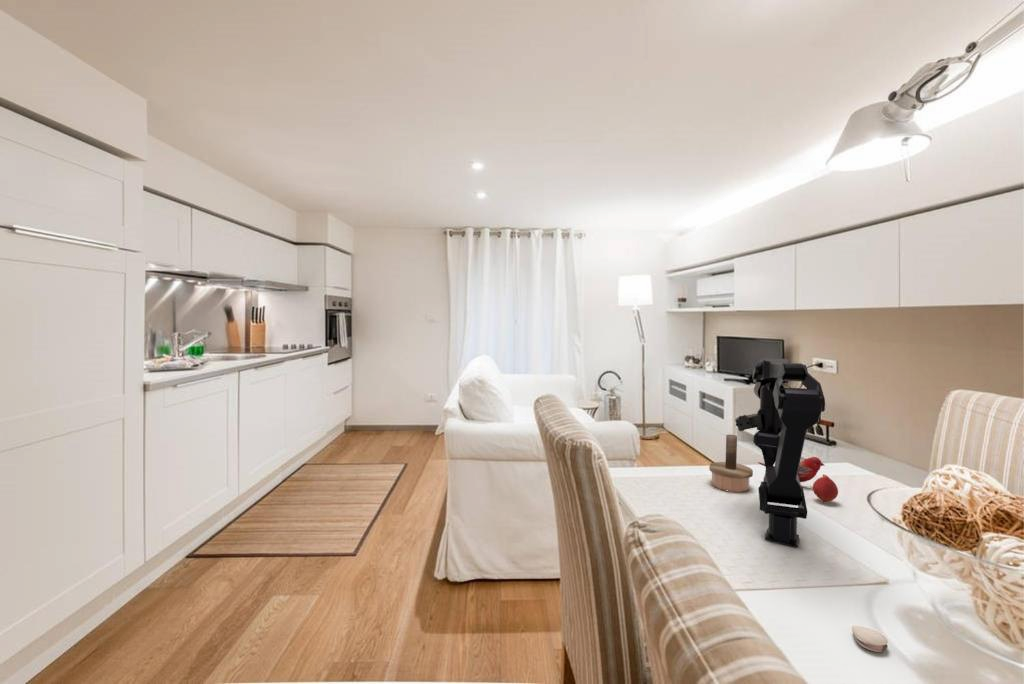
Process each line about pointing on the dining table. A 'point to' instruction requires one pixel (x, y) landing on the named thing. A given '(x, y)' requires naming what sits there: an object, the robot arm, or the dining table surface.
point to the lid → (731, 462)
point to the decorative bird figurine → (807, 468)
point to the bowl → (730, 483)
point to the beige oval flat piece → (870, 638)
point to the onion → (825, 489)
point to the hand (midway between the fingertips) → (770, 465)
